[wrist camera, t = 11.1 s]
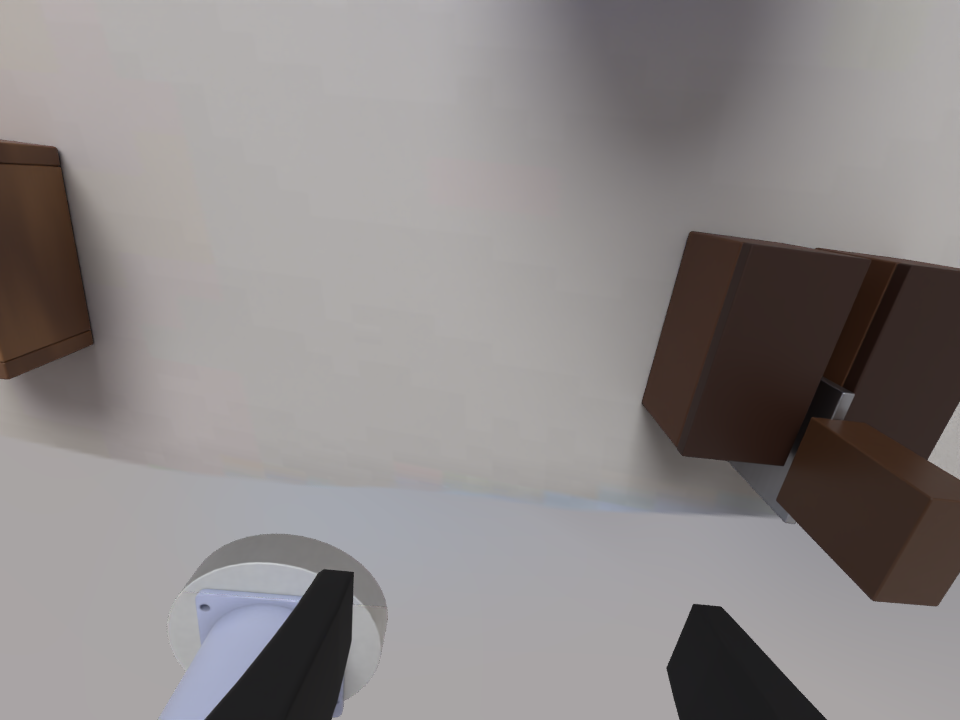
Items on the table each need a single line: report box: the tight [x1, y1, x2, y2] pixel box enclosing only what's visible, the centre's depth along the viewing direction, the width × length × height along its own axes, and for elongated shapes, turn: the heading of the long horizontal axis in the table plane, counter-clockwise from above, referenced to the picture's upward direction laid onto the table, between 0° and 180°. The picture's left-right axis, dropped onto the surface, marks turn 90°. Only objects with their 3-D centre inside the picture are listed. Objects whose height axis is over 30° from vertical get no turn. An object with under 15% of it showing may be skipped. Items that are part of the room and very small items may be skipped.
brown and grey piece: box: [728, 376, 960, 606], centre depth 15 cm, size 5×2×8 cm, turn 173°
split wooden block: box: [642, 231, 960, 466], centre depth 16 cm, size 7×8×4 cm
